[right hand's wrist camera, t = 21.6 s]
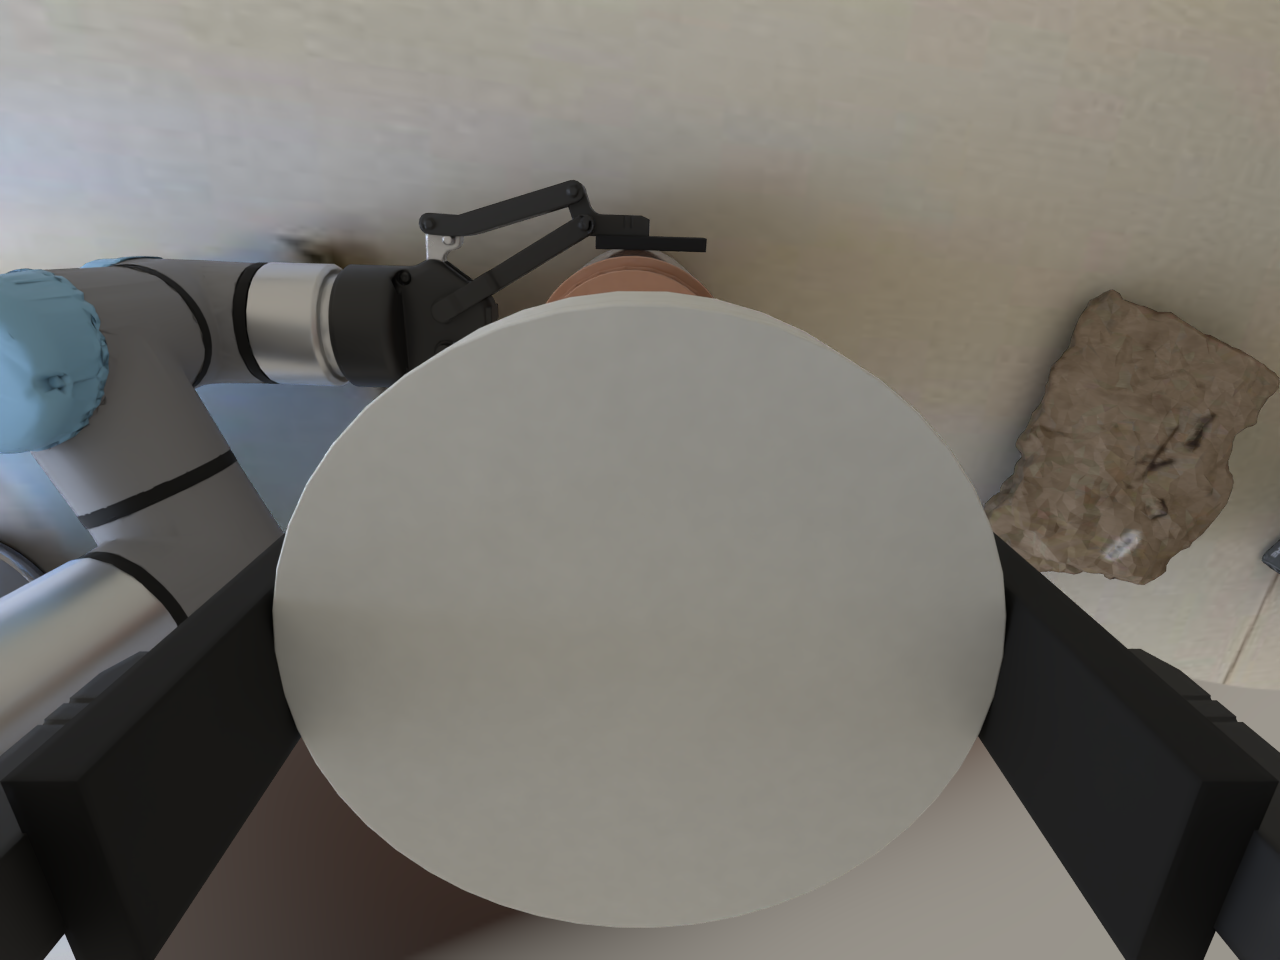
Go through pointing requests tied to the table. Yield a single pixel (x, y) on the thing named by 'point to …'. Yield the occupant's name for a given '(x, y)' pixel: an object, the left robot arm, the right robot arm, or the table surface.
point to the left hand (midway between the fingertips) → (698, 336)
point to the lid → (639, 612)
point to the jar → (630, 275)
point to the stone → (1128, 444)
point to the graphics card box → (1273, 557)
